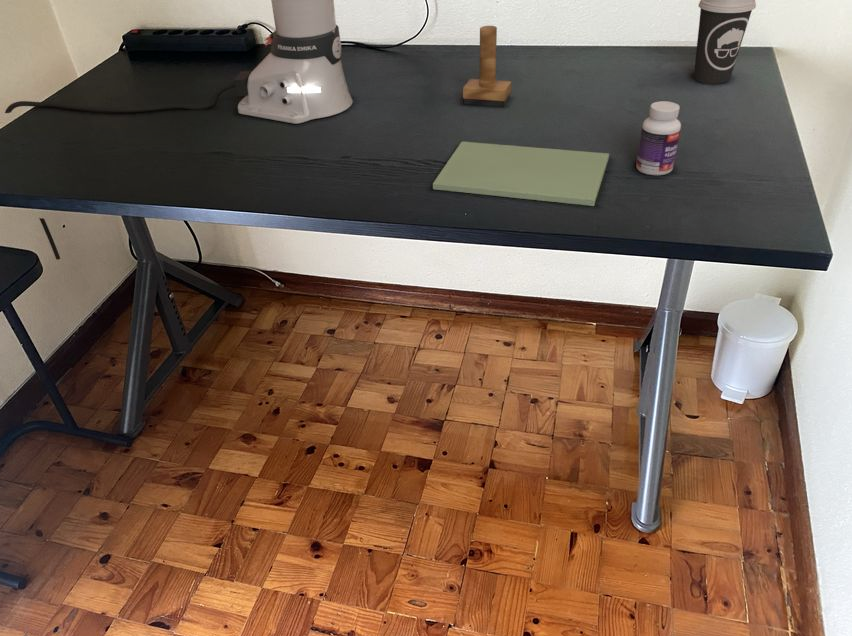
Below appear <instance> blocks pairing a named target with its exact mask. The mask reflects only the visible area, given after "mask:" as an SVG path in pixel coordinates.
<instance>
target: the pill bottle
mask: <svg viewBox="0 0 852 636" xmlns="http://www.w3.org/2000/svg"><path fill="white" fill-rule="evenodd" d="M680 108H681V107H680V105H679V104H678V103H676V102H672V101H667V100H661V101H655V102H652V103H651V104H650V106H649V112H648V115H649V117H647V118H646V119H644V120H643V122H642V125H641V131H640V132H641V133H640V138H639V145H638V151H637V156H636V158H637V159H636V164H635V165H636V166H635V167H636V169H637V171H639V172H640V173H642V174H645V175H648V176H664V175H667V174H670V173H671V172H672V171H673V169H674V165H675V160H676V155H677V150H678V145H679V138H680V135H681V129H682V124H681V121H680V120H679V119H678V116H679V114H680Z"/></svg>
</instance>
